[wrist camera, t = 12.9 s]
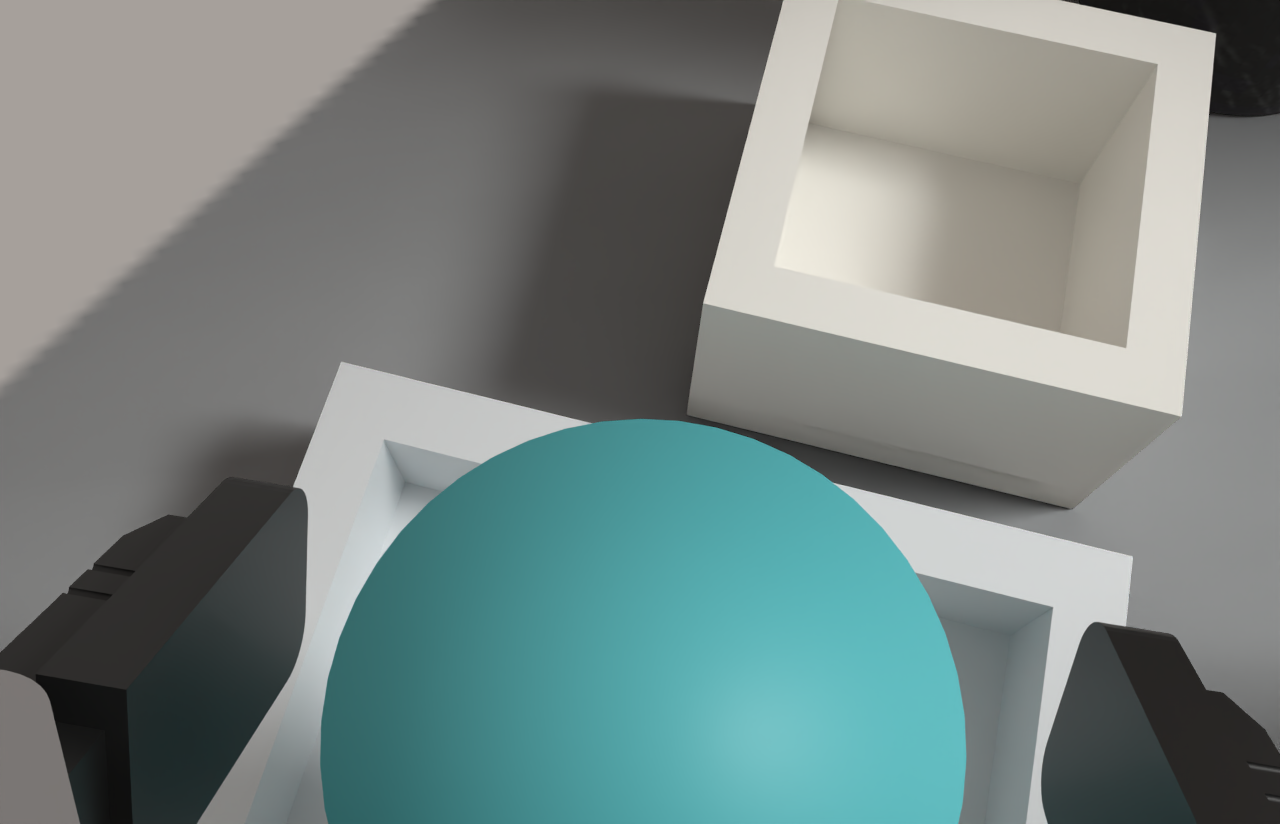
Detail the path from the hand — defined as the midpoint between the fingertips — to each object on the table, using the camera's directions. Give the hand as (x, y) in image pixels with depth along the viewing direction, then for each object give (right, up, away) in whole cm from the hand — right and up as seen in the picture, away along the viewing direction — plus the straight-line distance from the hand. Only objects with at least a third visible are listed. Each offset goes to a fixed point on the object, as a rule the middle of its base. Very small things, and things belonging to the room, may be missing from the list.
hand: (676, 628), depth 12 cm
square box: (+5, +5, +14) cm, 15 cm away
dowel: (0, -5, +8) cm, 10 cm away
